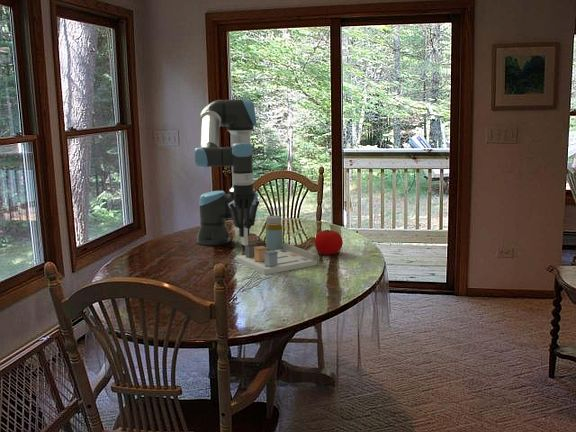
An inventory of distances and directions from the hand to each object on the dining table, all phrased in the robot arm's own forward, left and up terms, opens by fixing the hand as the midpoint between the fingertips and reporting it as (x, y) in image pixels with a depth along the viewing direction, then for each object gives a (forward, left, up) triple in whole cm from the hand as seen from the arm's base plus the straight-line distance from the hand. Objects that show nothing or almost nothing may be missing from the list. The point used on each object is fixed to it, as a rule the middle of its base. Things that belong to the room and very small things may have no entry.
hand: (244, 244), depth 231 cm
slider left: (-8, +7, -7) cm, 13 cm away
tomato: (0, +40, -10) cm, 41 cm away
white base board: (0, +14, -10) cm, 17 cm away
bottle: (-18, +24, -10) cm, 32 cm away
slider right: (+8, +7, -7) cm, 13 cm away
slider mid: (0, +7, -7) cm, 10 cm away
